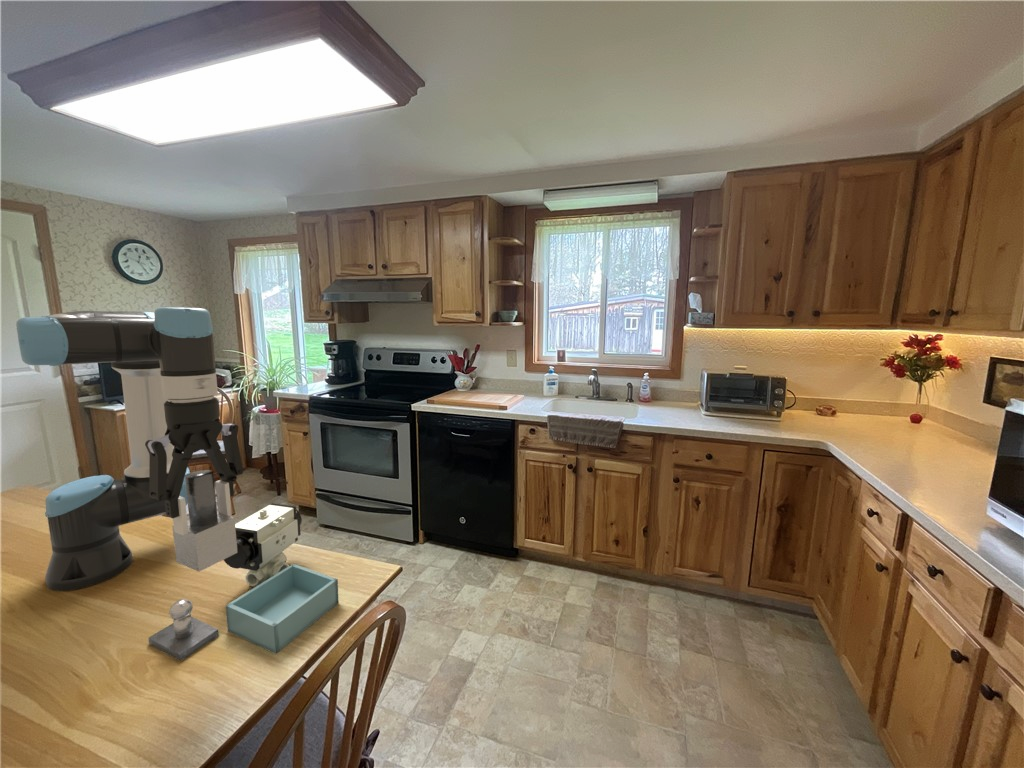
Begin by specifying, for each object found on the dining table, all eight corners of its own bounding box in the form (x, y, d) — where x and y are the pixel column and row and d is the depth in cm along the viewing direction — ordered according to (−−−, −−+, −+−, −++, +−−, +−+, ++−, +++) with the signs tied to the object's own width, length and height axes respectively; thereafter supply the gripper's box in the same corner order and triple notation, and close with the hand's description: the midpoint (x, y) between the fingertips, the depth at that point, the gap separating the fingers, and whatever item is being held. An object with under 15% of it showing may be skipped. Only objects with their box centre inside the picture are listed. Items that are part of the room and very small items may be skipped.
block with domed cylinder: (199, 571, 71) (189, 484, 69) (176, 562, 74) (166, 477, 71) (237, 552, 77) (230, 471, 75) (215, 544, 80) (207, 465, 77)
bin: (227, 631, 85) (225, 605, 84) (294, 586, 100) (293, 563, 99) (275, 654, 80) (273, 626, 79) (338, 602, 95) (337, 579, 94)
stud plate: (149, 644, 81) (144, 604, 80) (188, 620, 88) (184, 583, 86) (180, 661, 78) (176, 620, 76) (218, 635, 84) (215, 597, 83)
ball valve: (255, 603, 94) (250, 531, 91) (224, 597, 95) (217, 526, 92) (309, 559, 111) (305, 497, 108) (281, 554, 113) (277, 493, 110)
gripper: (134, 411, 60) (151, 556, 64) (260, 391, 78) (268, 505, 82) (106, 406, 63) (125, 544, 67) (234, 388, 81) (243, 498, 85)
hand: (204, 523), depth 74 cm, fingers closed on block with domed cylinder, 7 cm apart
